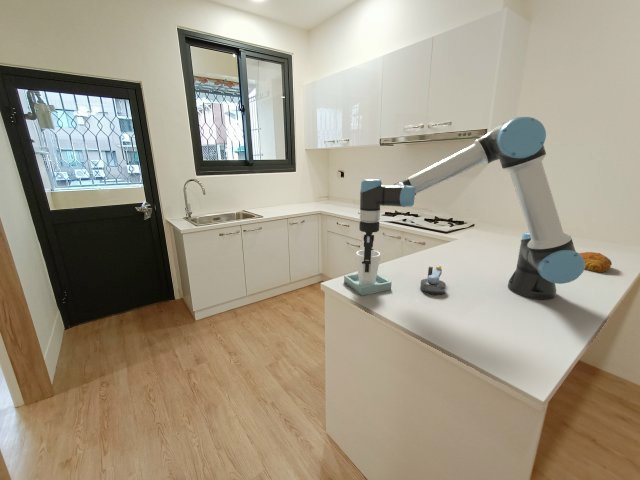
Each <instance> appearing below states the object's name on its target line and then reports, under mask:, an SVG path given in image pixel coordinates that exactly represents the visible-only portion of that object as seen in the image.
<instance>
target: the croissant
mask: <svg viewBox="0 0 640 480" xmlns="http://www.w3.org/2000/svg"><path fill="white" fill-rule="evenodd" d="M578 253H579V254H580V255H581V256H582V258H583V259H584V261H585V269H584V270H585V271H589V272H595V273H596V272H597V273H604V272H606V271H608V270H609V269H611V267H612V265H613V264H612V261H611V259H610V258H608V256H606V255H604V254H602V253H601V252H593V251H586V252H578Z"/></svg>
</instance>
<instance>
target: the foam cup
mask: <svg viewBox="0 0 640 480" xmlns="http://www.w3.org/2000/svg"><path fill="white" fill-rule="evenodd" d="M355 260H356V265H357V273H358V277H359V284H360V285H361V286H363V287H365V286H370V285H375V282H376V277H377V274H378V270H379V266H380V261H381V252H379V251H378V250H375V249H374V250H371V275H370V280H363V265H364V264H362V261H364V249H361V250H358V251H356V252H355ZM365 261H369V260H365Z"/></svg>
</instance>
